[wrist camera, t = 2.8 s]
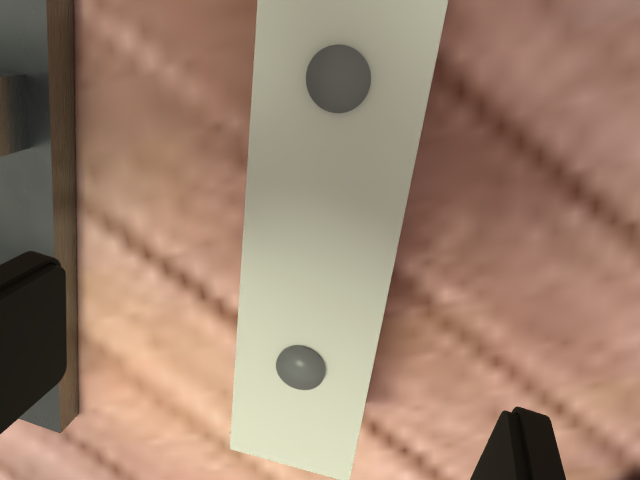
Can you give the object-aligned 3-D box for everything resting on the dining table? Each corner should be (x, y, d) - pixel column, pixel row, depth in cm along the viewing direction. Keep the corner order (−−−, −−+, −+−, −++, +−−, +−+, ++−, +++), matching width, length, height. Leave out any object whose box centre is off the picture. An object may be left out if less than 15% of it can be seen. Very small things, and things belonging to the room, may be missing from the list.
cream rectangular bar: (314, -102, 17) (264, -152, 12) (466, -88, 16) (475, -134, 11) (268, 373, 25) (227, 452, 20) (366, 398, 24) (348, 486, 20)
